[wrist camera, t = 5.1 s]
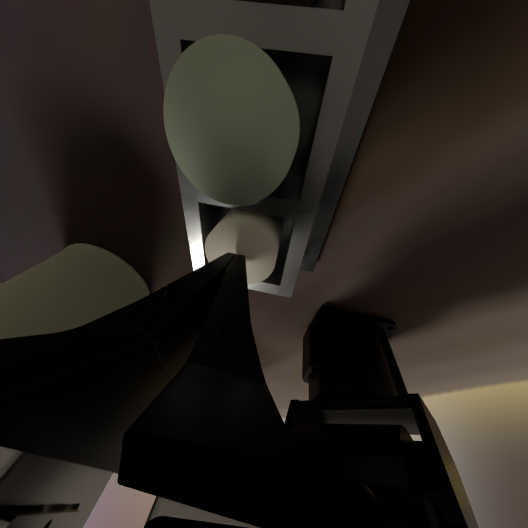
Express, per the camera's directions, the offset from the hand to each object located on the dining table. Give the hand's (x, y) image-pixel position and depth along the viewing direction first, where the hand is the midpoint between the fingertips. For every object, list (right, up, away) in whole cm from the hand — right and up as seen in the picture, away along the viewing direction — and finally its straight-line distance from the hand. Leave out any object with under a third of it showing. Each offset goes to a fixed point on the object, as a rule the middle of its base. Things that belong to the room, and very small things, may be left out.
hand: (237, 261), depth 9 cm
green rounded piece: (+1, +5, -1) cm, 6 cm away
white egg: (+1, +2, +3) cm, 4 cm away
